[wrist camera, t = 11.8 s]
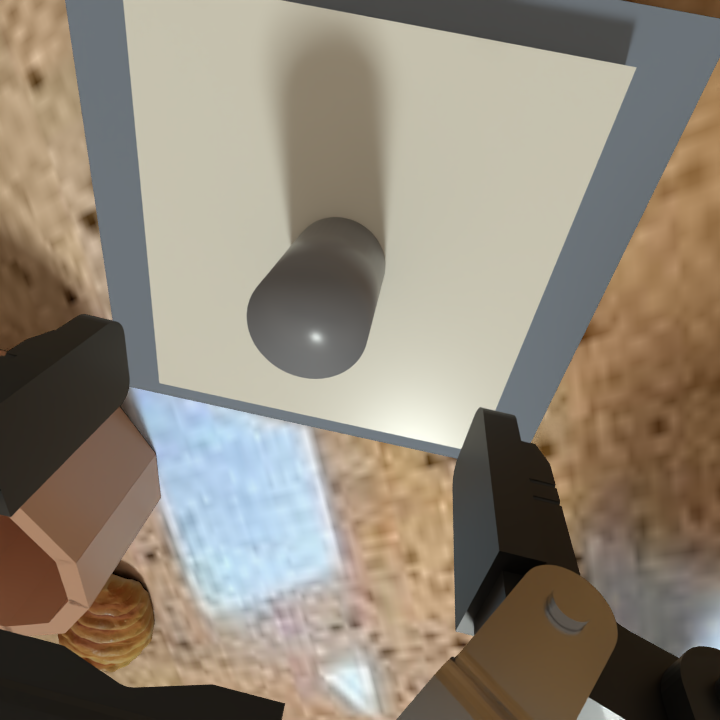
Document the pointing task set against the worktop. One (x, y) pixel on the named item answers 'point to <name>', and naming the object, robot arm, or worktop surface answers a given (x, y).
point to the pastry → (113, 626)
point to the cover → (353, 204)
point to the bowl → (75, 530)
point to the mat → (462, 16)
